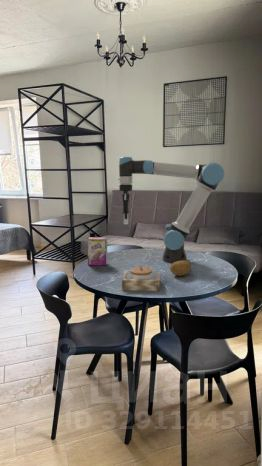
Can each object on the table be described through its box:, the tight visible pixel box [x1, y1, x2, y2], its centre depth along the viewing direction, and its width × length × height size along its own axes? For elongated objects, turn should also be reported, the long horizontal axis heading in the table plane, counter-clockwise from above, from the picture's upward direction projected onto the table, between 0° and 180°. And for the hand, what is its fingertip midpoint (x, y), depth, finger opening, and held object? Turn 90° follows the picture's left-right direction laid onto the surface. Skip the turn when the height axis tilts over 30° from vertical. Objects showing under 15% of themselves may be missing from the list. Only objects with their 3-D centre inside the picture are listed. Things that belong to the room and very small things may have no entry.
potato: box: [169, 259, 192, 277], centre depth 171 cm, size 10×14×8 cm
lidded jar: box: [129, 266, 153, 280], centre depth 156 cm, size 11×11×9 cm
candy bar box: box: [87, 236, 108, 267], centre depth 191 cm, size 11×5×16 cm, turn 84°
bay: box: [121, 270, 160, 292], centre depth 156 cm, size 17×15×5 cm
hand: (126, 224), depth 190 cm, fingers closed
